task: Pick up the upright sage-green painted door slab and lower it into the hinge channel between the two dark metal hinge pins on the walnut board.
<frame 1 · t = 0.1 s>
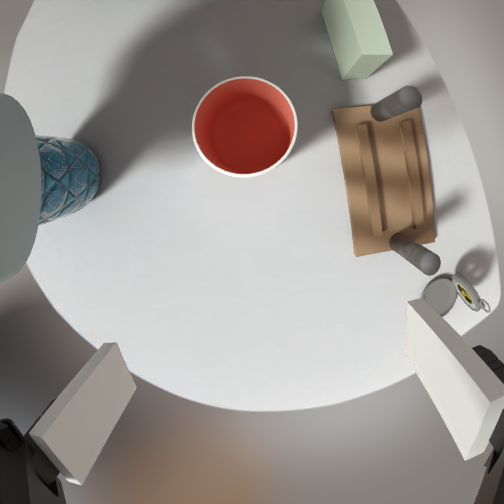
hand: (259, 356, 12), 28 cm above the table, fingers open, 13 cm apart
hinge board: (388, 177, 36), on the table
cup: (251, 136, 37), on the table
lamp: (78, 175, 39), on the table
pocket watch: (442, 292, 40), on the table
door: (343, 43, 32), on the table
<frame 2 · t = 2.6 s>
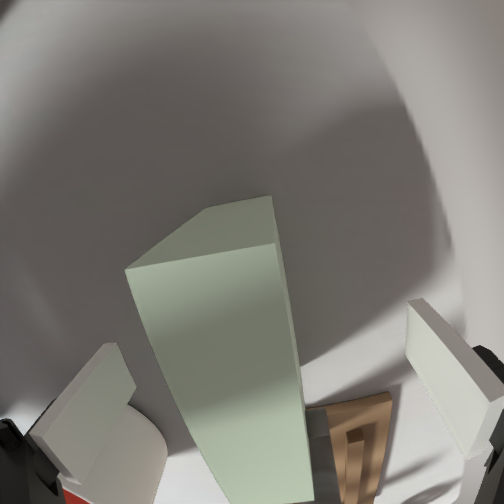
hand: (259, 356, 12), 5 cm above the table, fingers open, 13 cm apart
hinge board: (316, 472, 22), on the table
cup: (119, 426, 22), on the table
door: (257, 296, 18), on the table
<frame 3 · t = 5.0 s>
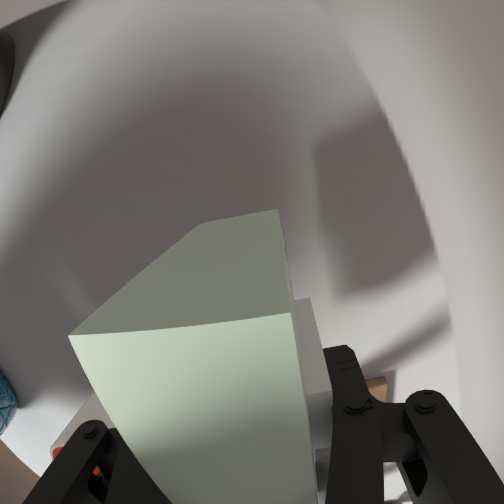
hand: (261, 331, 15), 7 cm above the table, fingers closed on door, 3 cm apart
hinge board: (321, 455, 25), on the table
cup: (143, 411, 26), on the table
door: (261, 325, 15), point 7 cm above the table, touching gripper
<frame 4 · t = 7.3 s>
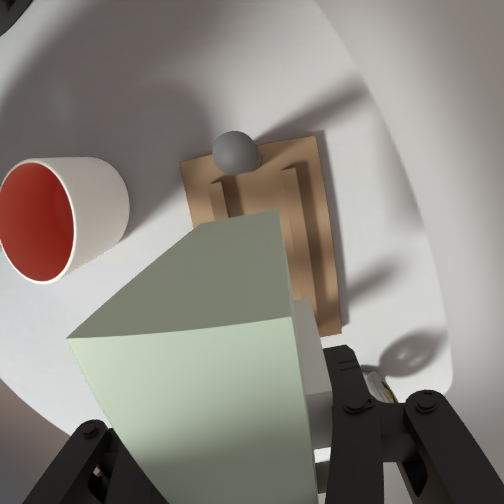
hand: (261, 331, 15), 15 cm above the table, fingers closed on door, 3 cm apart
hinge board: (266, 250, 29), on the table
cup: (94, 204, 29), on the table
pocket watch: (359, 384, 33), on the table
door: (261, 326, 15), point 14 cm above the table, touching gripper
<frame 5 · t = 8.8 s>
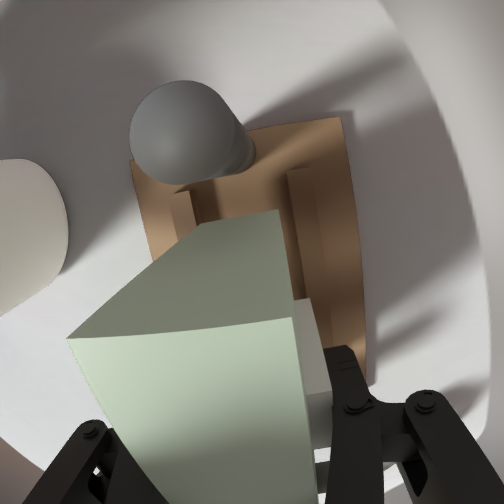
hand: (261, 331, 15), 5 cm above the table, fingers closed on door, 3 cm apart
hinge board: (263, 292, 19), on the table
cup: (30, 222, 19), on the table
door: (261, 327, 15), point 4 cm above the table, touching gripper
when the fingers open (3 cm above the table, at t = 9.9 s): door drops 1 cm, resting on hinge board.
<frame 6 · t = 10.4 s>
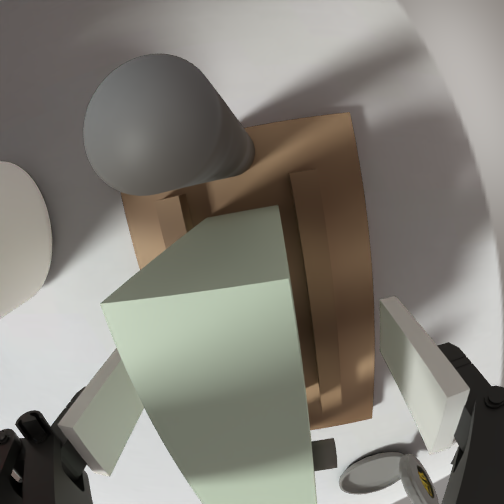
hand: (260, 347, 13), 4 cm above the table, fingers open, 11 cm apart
hinge board: (263, 308, 17), on the table
cup: (15, 229, 17), on the table
pocket watch: (384, 462, 21), on the table
door: (261, 314, 16), point 1 cm above the table, touching hinge board
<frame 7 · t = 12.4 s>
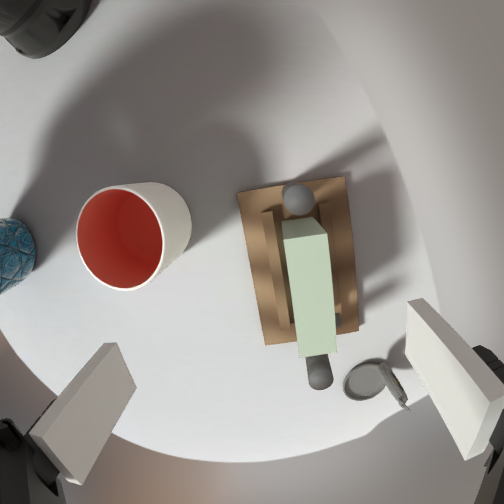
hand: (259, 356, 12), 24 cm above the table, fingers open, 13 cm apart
hinge board: (303, 264, 36), on the table
cup: (156, 222, 36), on the table
lamp: (20, 246, 39), on the table
pocket watch: (371, 375, 39), on the table
door: (303, 266, 35), point 1 cm above the table, touching hinge board
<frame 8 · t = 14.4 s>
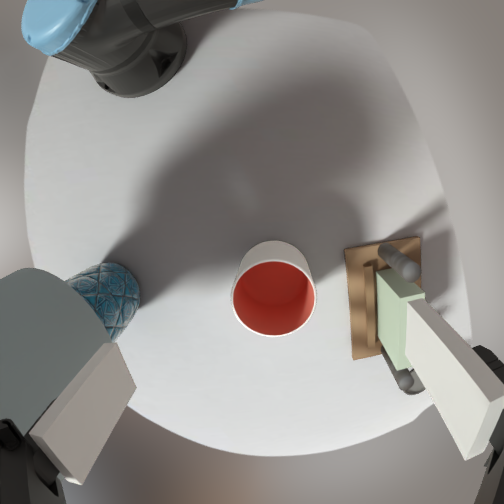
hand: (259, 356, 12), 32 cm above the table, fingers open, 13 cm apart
hinge board: (385, 300, 45), on the table
cup: (273, 271, 45), on the table
lamp: (117, 288, 48), on the table
pocket watch: (421, 375, 49), on the table
door: (387, 302, 44), point 1 cm above the table, touching hinge board
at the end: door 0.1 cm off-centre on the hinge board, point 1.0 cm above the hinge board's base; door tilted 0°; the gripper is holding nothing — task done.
